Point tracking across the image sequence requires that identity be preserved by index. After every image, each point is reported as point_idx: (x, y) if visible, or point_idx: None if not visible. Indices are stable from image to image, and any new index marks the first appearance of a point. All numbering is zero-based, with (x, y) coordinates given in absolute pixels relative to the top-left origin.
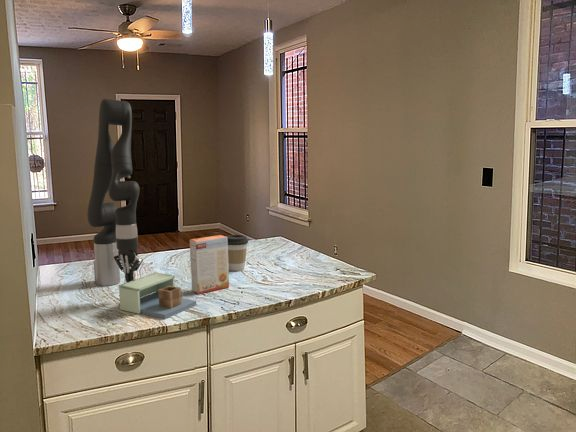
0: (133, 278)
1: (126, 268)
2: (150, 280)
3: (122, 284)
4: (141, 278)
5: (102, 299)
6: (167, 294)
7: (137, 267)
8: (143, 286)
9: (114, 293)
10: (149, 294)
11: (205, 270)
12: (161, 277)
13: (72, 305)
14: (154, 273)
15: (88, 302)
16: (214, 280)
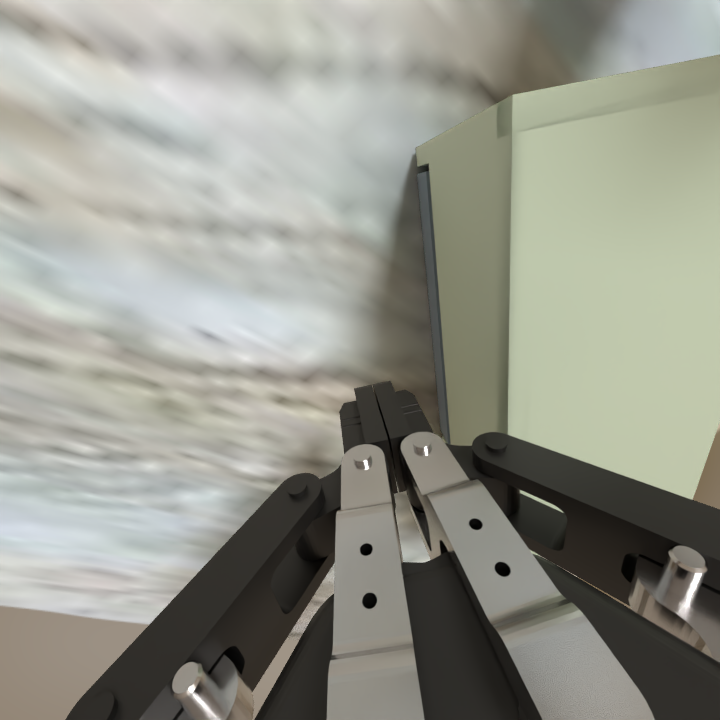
0: (416, 400)
1: (397, 531)
2: (657, 361)
3: None
4: (534, 384)
5: (218, 435)
6: None
7: (555, 473)
8: (692, 473)
9: (142, 339)
10: (432, 238)
11: None
12: (714, 215)
13: (210, 548)
14: (526, 154)
15: (217, 494)
16: None
